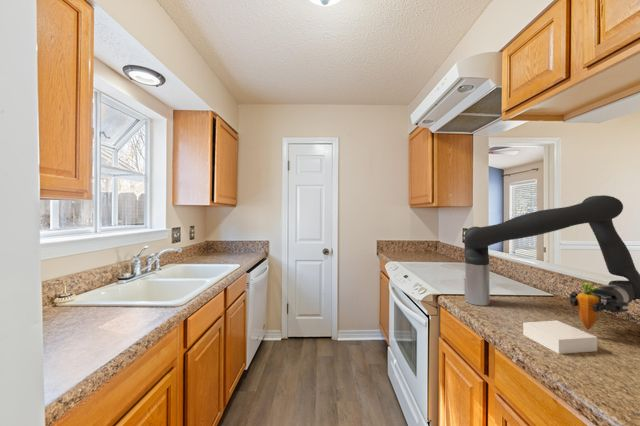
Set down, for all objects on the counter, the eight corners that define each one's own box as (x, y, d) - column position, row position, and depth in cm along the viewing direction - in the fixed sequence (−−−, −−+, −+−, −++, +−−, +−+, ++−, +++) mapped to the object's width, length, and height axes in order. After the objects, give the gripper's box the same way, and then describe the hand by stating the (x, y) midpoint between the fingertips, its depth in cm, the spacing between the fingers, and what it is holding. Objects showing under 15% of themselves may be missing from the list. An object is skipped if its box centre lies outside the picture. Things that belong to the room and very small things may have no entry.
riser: (523, 334, 89) (523, 322, 89) (557, 332, 90) (557, 320, 90) (558, 353, 77) (558, 339, 77) (597, 351, 78) (597, 337, 78)
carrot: (587, 325, 90) (587, 280, 89) (603, 332, 85) (603, 284, 84) (572, 326, 89) (572, 280, 89) (588, 333, 84) (588, 284, 84)
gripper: (581, 281, 99) (556, 287, 92) (639, 292, 86) (615, 300, 79) (581, 301, 100) (556, 310, 92) (639, 315, 87) (615, 326, 79)
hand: (583, 305), depth 86 cm, fingers closed on carrot, 4 cm apart
